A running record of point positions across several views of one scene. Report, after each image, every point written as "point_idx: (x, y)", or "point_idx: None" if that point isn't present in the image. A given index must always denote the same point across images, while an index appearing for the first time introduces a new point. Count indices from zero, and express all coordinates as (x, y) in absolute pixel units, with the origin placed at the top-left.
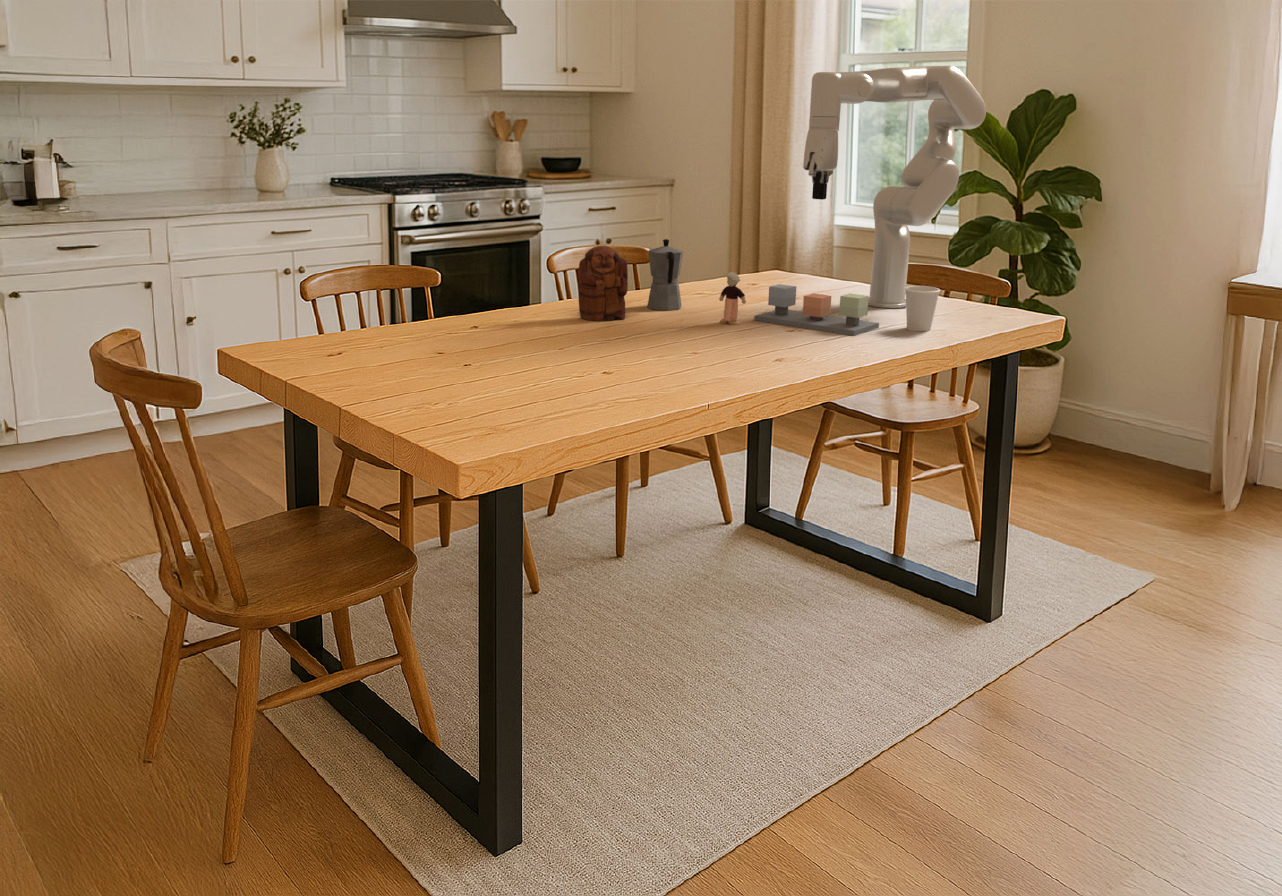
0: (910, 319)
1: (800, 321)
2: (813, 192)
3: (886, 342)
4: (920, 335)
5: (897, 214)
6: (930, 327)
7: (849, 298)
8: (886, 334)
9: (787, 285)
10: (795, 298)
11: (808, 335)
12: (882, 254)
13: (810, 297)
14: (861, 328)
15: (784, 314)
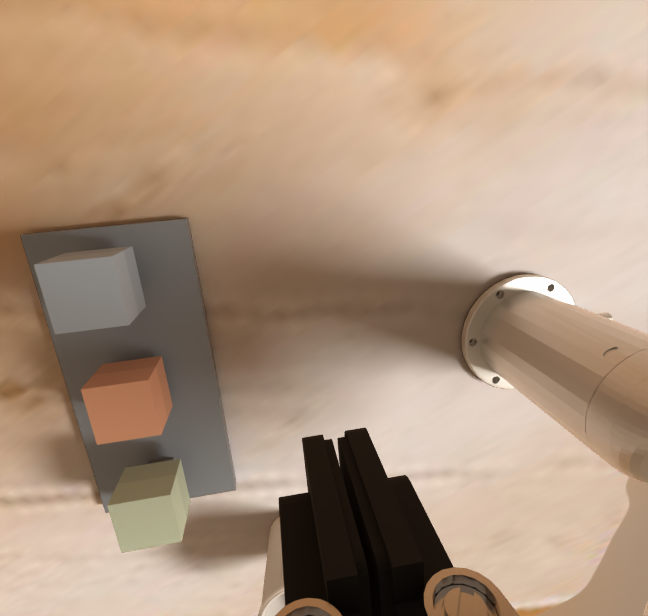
0: (268, 547)
1: (76, 375)
2: (311, 485)
3: (114, 572)
4: (237, 566)
5: None
6: None
7: (116, 526)
8: (186, 528)
9: (116, 293)
10: (139, 312)
11: (11, 446)
12: (570, 402)
13: (88, 410)
14: None
15: None
